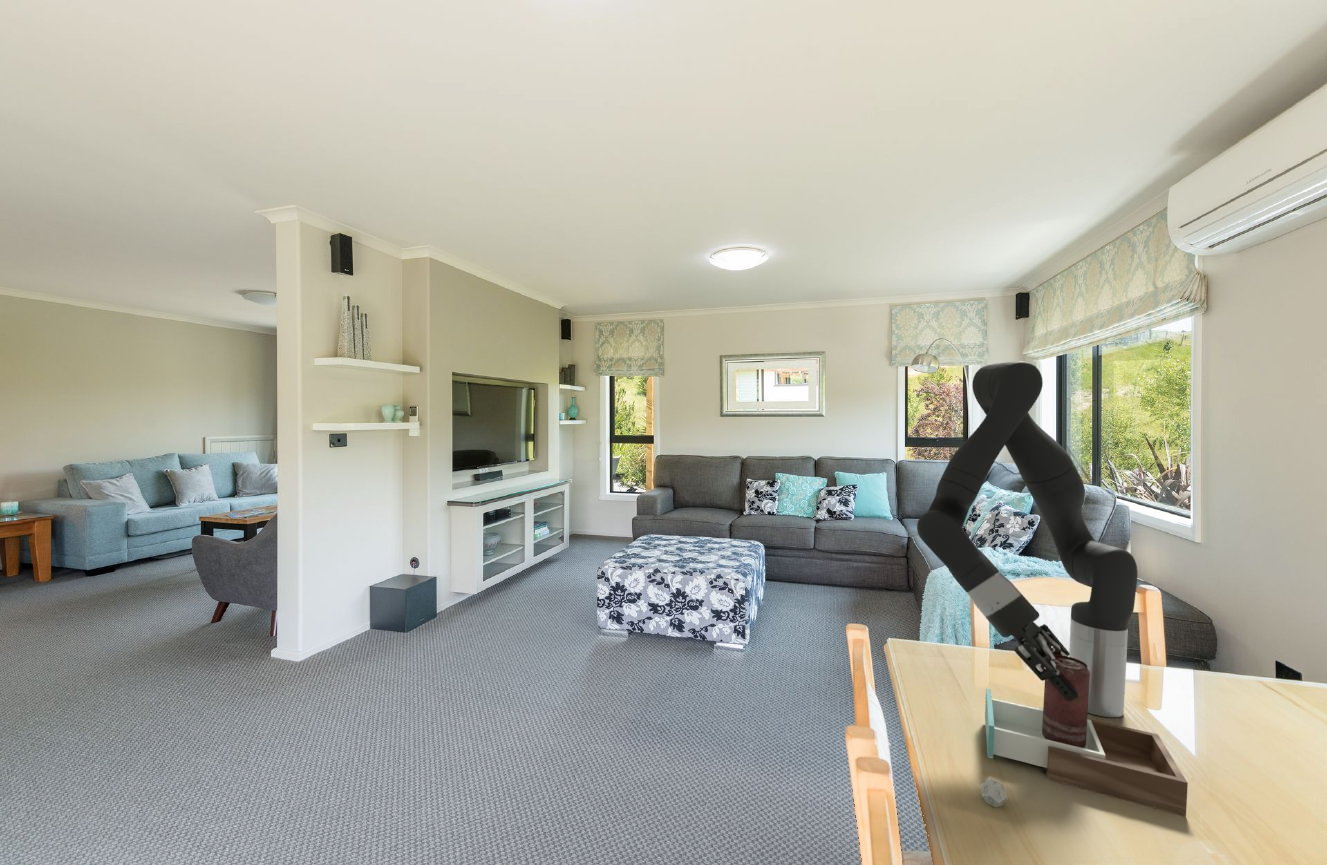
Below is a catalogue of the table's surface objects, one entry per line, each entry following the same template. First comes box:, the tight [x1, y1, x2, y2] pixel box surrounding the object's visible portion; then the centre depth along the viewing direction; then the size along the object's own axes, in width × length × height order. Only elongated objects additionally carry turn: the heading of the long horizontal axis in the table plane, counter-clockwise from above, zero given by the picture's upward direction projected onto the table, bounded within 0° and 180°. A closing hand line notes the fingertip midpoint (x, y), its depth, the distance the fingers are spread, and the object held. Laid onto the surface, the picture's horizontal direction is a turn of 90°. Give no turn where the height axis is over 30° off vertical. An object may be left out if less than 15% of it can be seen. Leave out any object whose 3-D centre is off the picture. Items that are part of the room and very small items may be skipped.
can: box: [1042, 655, 1090, 748], centre depth 97 cm, size 6×6×14 cm
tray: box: [984, 688, 1105, 769], centre depth 99 cm, size 15×16×5 cm
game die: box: [979, 778, 1009, 808], centre depth 86 cm, size 4×4×3 cm
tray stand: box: [1038, 708, 1188, 817], centre depth 95 cm, size 15×17×5 cm
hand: (1078, 691), depth 96 cm, fingers closed on can, 6 cm apart
